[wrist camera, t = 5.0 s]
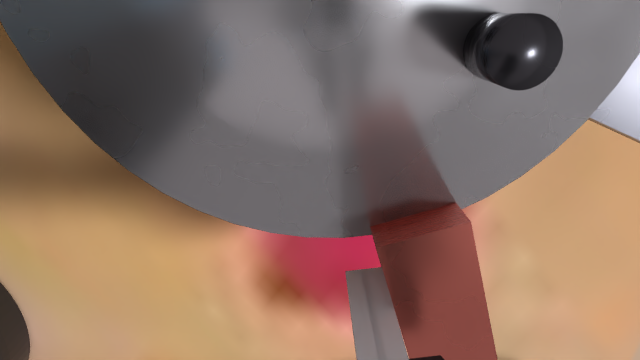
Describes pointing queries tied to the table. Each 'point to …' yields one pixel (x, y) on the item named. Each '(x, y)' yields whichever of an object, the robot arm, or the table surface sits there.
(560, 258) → the table surface
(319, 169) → the lid
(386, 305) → the robot arm
